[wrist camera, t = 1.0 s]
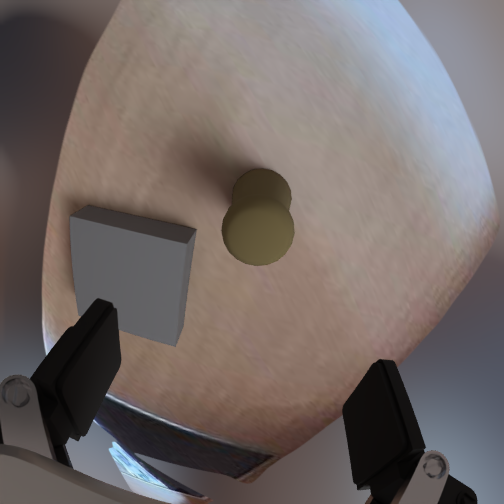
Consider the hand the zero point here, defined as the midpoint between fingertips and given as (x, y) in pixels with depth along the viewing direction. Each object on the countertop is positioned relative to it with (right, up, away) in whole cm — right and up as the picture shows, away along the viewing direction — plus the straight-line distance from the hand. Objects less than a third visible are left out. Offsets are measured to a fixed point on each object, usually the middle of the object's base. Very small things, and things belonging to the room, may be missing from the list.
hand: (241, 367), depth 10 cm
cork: (+1, +9, +20) cm, 22 cm away
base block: (-14, +2, +24) cm, 28 cm away
